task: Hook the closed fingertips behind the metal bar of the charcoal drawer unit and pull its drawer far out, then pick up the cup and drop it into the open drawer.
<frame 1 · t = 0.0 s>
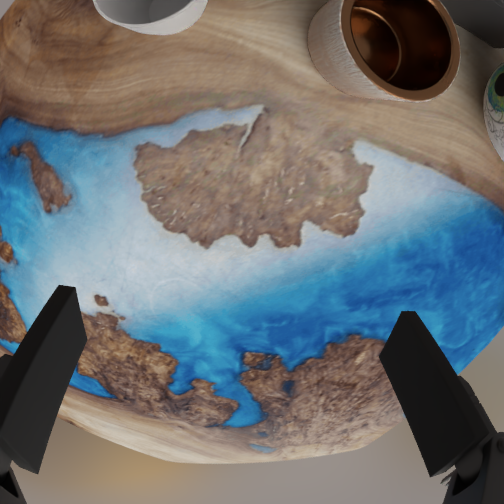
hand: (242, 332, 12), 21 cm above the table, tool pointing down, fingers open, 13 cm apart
planter: (358, 47, 25), on the table
cup: (174, 10, 22), on the table
decorative object: (497, 109, 27), on the table
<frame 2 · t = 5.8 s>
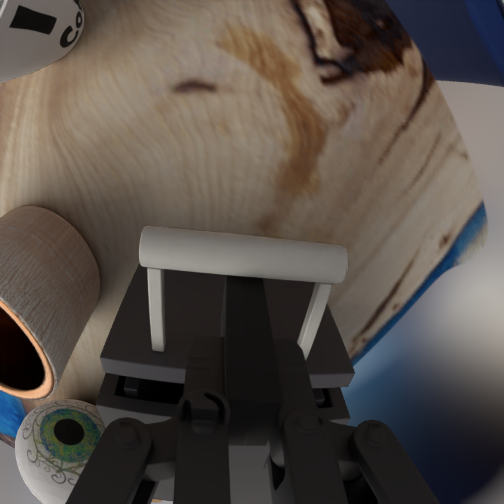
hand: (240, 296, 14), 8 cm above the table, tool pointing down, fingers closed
cabinet: (216, 372, 28), on the table
drawer: (222, 370, 20), point 5 cm above the table, slide at 1.8 cm
planter: (46, 264, 22), on the table
cup: (53, 30, 13), on the table
decorative object: (91, 410, 31), on the table
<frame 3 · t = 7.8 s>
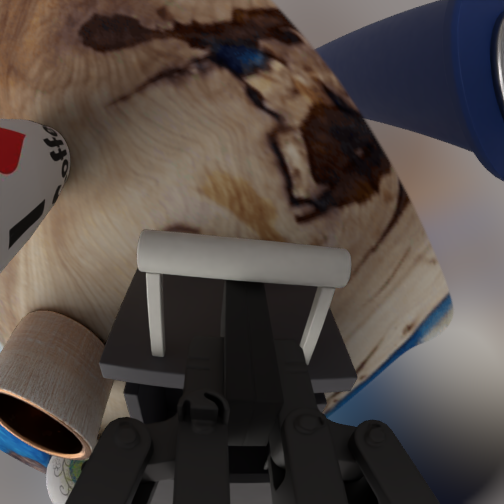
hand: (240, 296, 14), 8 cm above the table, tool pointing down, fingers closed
cabinet: (212, 424, 32), on the table
drawer: (223, 374, 20), point 5 cm above the table, slide at 11.1 cm, touching gripper
planter: (67, 348, 26), on the table
cup: (42, 160, 17), on the table
decorative object: (107, 444, 35), on the table
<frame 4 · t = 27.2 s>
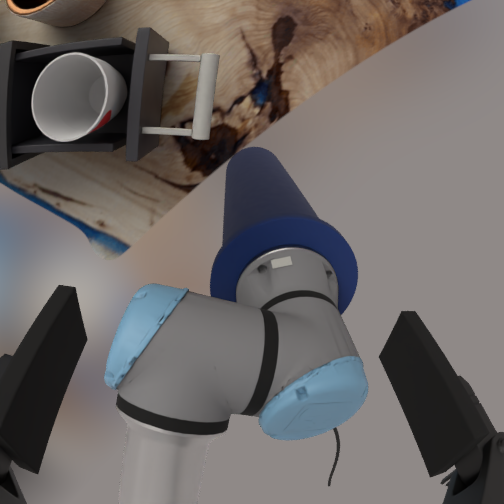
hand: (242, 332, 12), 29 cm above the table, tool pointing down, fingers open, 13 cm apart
cabinet: (7, 103, 29), on the table
drawer: (107, 93, 27), point 5 cm above the table, slide at 13.8 cm, touching cup
cup: (107, 93, 30), point 2 cm above the table, touching drawer
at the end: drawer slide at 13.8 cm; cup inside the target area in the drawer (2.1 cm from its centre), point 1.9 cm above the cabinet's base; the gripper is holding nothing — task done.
